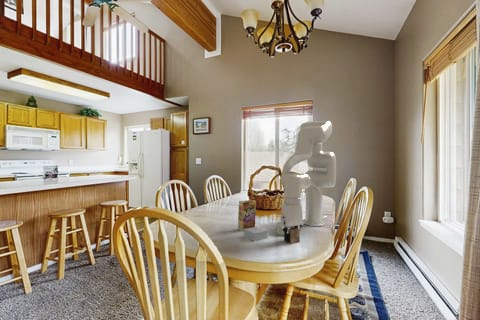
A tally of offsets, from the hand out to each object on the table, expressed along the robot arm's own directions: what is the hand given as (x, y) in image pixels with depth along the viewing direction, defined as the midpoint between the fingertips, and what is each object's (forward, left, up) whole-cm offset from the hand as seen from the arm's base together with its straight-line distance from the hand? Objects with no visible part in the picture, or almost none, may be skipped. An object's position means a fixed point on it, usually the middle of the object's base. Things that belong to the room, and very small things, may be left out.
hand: (291, 239), depth 107 cm
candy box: (+9, -25, -1) cm, 27 cm away
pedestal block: (+12, -12, -1) cm, 17 cm away
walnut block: (0, 0, -1) cm, 1 cm away
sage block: (-4, -10, -1) cm, 11 cm away
